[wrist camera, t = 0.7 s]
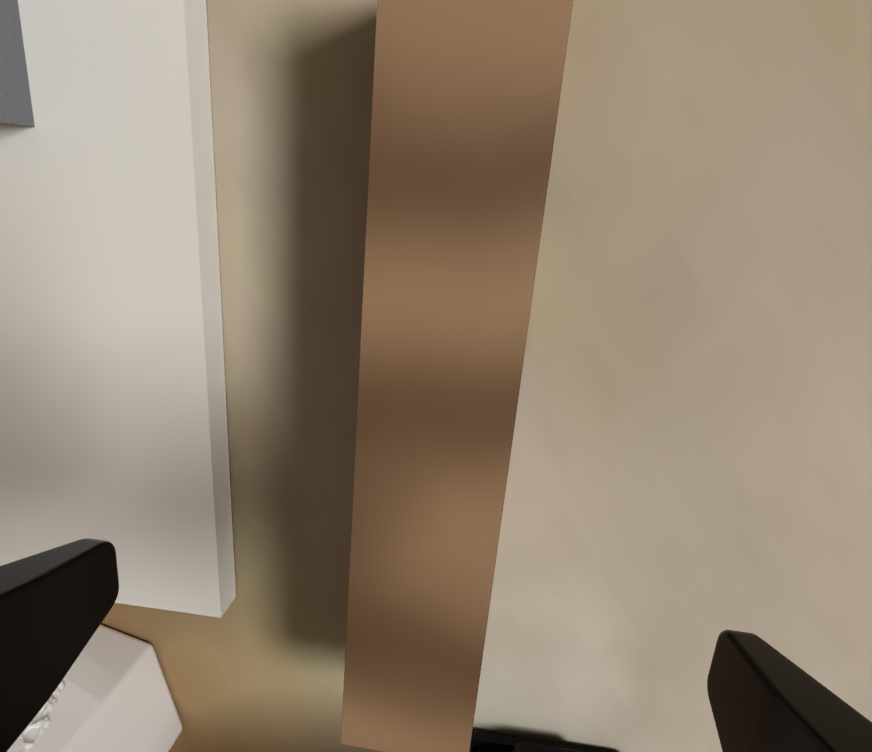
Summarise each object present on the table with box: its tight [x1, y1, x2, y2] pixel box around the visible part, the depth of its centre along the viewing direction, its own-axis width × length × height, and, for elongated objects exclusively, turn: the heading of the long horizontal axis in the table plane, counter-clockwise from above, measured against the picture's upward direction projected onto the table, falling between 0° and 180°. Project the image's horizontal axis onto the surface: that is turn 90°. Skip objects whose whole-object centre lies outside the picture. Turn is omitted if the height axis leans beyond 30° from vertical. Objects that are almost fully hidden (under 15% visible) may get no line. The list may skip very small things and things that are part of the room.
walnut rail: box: [341, 0, 573, 752], centre depth 16 cm, size 22×4×5 cm, turn 175°
